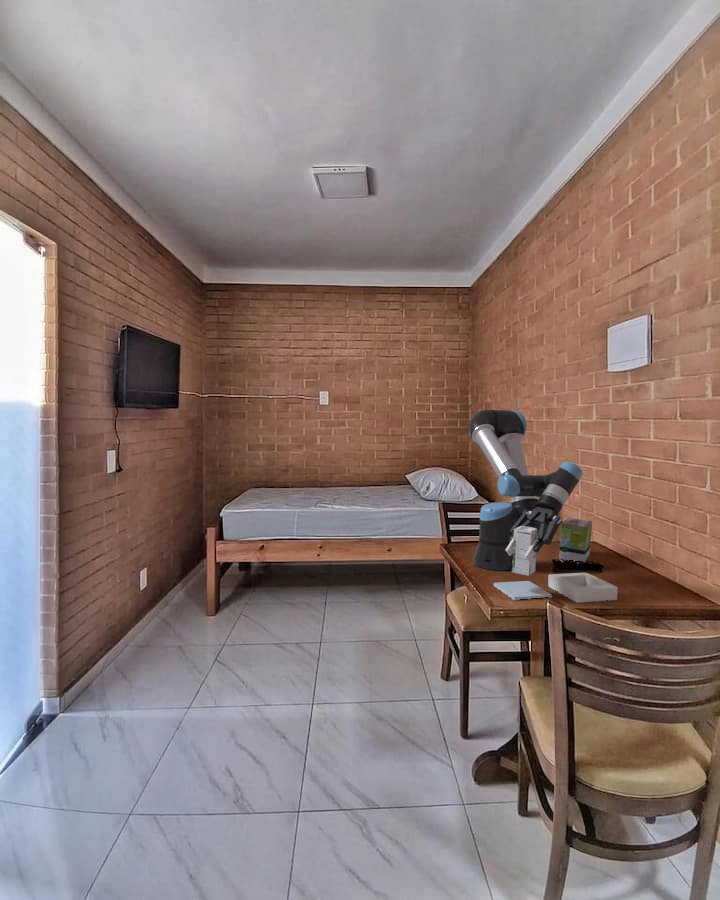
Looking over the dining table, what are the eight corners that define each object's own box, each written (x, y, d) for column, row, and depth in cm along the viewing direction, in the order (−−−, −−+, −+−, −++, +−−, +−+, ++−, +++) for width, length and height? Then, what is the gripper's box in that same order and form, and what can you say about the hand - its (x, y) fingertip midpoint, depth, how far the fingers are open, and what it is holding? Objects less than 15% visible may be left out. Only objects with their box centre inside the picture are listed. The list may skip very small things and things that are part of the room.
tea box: (585, 563, 189) (587, 526, 188) (558, 559, 195) (560, 523, 193) (590, 555, 202) (592, 520, 201) (564, 550, 207) (566, 516, 206)
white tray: (548, 586, 162) (548, 574, 162) (585, 584, 165) (586, 572, 165) (576, 602, 148) (577, 589, 148) (617, 599, 151) (617, 587, 151)
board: (493, 585, 161) (493, 582, 161) (528, 583, 164) (528, 580, 164) (514, 600, 149) (514, 597, 149) (551, 597, 152) (551, 594, 151)
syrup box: (518, 568, 159) (519, 525, 159) (536, 572, 156) (538, 527, 155) (511, 572, 155) (513, 528, 154) (529, 576, 151) (531, 530, 150)
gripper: (583, 513, 154) (549, 571, 146) (531, 504, 171) (498, 555, 163) (574, 498, 151) (539, 556, 143) (522, 490, 168) (488, 541, 160)
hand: (517, 555), depth 153 cm, fingers closed on syrup box, 7 cm apart
